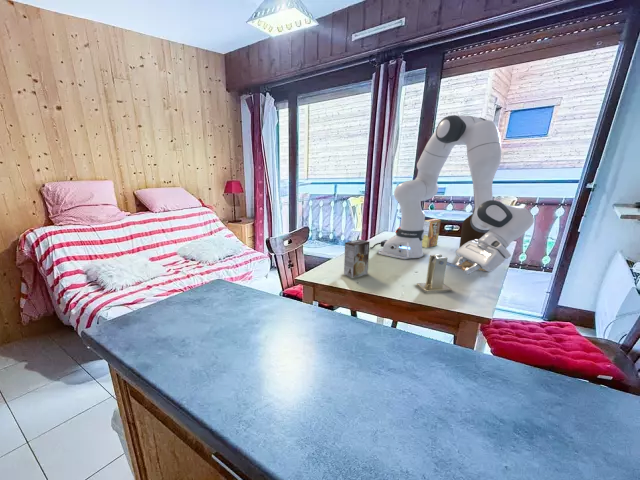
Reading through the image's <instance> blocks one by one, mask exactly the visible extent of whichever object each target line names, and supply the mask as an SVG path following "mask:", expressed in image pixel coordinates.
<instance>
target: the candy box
mask: <svg viewBox="0 0 640 480" xmlns="http://www.w3.org/2000/svg"><path fill="white" fill-rule="evenodd" d="M441 223H442V219H440V218H432V219H425V220H424V228H423V229H424V237H423V240H422V248H424V249H429V248H432V247H436V246H438V242H439V241H438V240H439V236H440V235H439V234H440V229H441Z"/></svg>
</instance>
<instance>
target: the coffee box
mask: <svg viewBox="0 0 640 480" xmlns="http://www.w3.org/2000/svg"><path fill="white" fill-rule="evenodd" d="M370 244H371V243H370V241H368V240H363V239H356V240H350V241H346V242H344V260H343V261H344V262H343V264H344V265H343V275H345V276H348V277H350V278H359V277H362V276H366V275H369V273H368V272H369V257H370V256H369V255H370Z"/></svg>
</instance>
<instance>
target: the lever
mask: <svg viewBox="0 0 640 480" xmlns="http://www.w3.org/2000/svg"><path fill="white" fill-rule="evenodd" d="M435 258H439V257H436V256H435V257H434V259H433V261H432V262H433V263H434V261H435ZM455 264H456V263H452V262H448V261H447V265H446V266H449V267H452V268H456V269H458V270H461V271H463V272H464V270H465V269H466V268H465V267H463V266H461V265H455Z"/></svg>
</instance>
